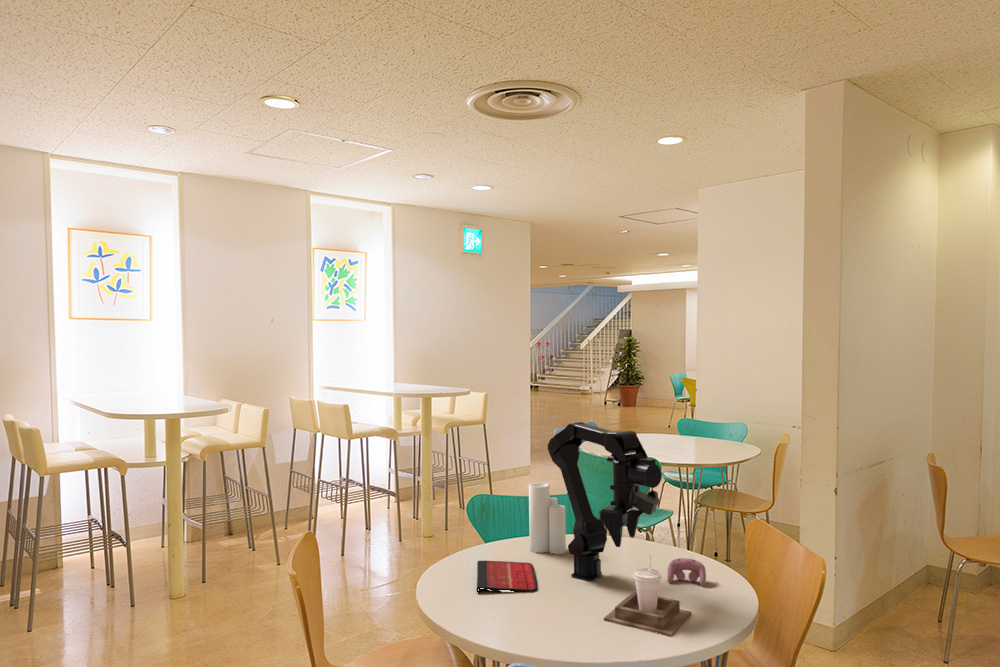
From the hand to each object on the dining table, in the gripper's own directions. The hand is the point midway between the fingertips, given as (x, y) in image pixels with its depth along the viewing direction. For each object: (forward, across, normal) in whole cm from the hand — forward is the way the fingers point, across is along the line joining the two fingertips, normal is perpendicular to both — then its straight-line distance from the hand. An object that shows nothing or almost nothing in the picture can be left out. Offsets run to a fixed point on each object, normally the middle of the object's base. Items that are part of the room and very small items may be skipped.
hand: (625, 541), depth 170 cm
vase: (+13, +20, +34) cm, 42 cm away
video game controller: (+13, +16, -11) cm, 23 cm away
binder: (+14, -7, +32) cm, 36 cm away
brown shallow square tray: (+13, -11, -10) cm, 20 cm away
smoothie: (+13, -11, -10) cm, 19 cm away
